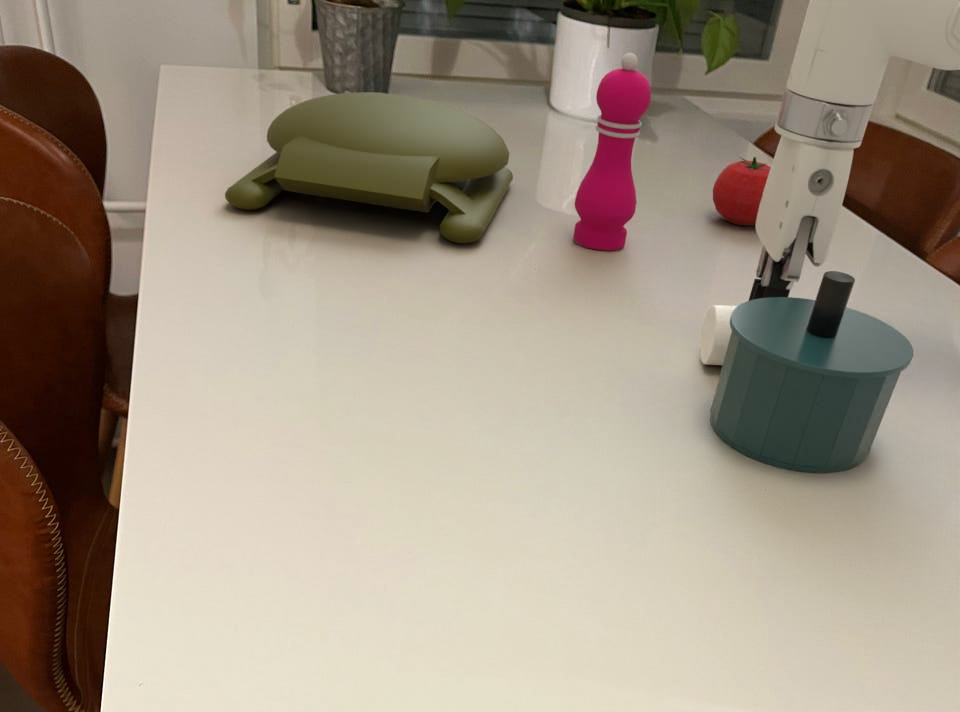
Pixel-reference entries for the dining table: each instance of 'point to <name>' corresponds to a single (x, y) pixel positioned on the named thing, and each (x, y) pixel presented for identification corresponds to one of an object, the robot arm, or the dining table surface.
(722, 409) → the pot
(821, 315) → the pot lid
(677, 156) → the dining table surface
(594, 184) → the pepper mill
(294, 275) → the dining table surface
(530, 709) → the dining table surface
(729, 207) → the tomato
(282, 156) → the spaceship
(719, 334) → the white bottle
